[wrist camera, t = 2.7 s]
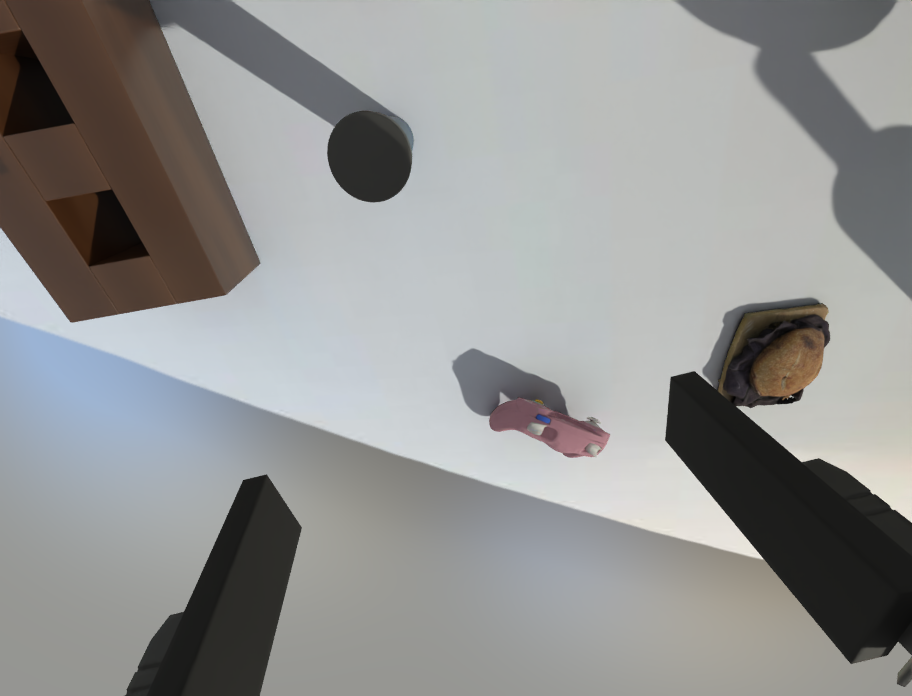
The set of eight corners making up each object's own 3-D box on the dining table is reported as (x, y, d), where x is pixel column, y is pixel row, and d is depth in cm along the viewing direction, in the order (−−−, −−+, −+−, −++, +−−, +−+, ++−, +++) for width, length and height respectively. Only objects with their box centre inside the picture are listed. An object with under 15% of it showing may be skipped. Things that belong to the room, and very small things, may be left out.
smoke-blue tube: (382, 104, 24) (347, 91, 12) (422, 131, 25) (426, 143, 13) (363, 148, 25) (314, 174, 13) (402, 172, 26) (388, 217, 14)
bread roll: (735, 310, 34) (768, 330, 31) (830, 300, 34) (872, 318, 31) (706, 407, 39) (731, 432, 36) (788, 398, 40) (821, 422, 36)
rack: (51, -230, 17) (-105, -378, 12) (260, 263, 29) (226, 295, 23) (-160, -189, 17) (-406, -320, 12) (133, 286, 29) (70, 323, 24)
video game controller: (581, 412, 40) (629, 432, 34) (565, 453, 40) (609, 482, 34) (499, 379, 37) (534, 394, 31) (481, 423, 37) (512, 449, 31)
